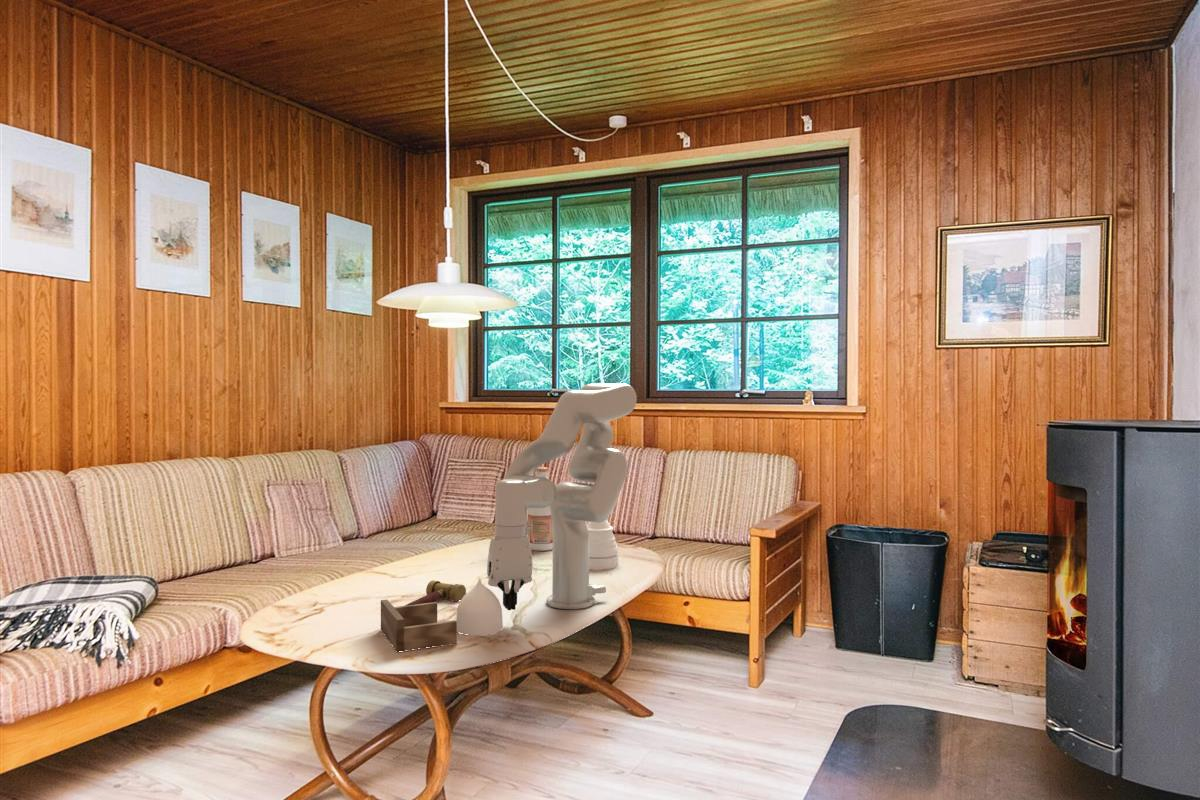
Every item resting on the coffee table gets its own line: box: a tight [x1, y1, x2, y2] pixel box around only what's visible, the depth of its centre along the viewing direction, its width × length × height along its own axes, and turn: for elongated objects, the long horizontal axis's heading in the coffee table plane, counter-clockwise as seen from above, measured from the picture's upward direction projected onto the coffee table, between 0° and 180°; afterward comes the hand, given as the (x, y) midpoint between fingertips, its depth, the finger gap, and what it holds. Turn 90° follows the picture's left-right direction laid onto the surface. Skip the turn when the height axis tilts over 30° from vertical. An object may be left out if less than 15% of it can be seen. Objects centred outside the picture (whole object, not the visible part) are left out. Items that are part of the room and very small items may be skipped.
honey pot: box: [586, 519, 619, 570], centre depth 250 cm, size 13×13×18 cm
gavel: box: [404, 580, 467, 606], centre depth 203 cm, size 21×5×10 cm
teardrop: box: [455, 577, 504, 636], centre depth 185 cm, size 11×11×12 cm
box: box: [380, 599, 458, 653], centre depth 178 cm, size 13×17×7 cm
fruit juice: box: [527, 466, 553, 552], centre depth 274 cm, size 9×9×28 cm
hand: (509, 608), depth 188 cm, fingers closed
